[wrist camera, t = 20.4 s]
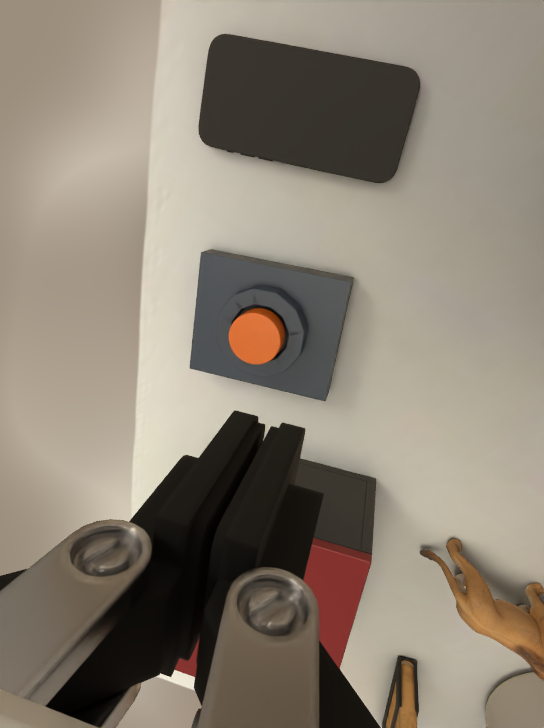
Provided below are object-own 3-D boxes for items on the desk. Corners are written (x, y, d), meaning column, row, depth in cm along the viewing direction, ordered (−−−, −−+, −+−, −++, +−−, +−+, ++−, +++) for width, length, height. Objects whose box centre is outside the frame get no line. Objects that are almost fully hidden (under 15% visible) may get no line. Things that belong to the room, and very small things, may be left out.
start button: (289, 313, 36) (284, 319, 34) (280, 362, 37) (275, 370, 36) (238, 302, 37) (231, 307, 35) (232, 351, 38) (225, 358, 36)
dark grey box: (338, 613, 49) (326, 707, 40) (213, 573, 51) (175, 654, 42) (376, 478, 43) (372, 553, 34) (232, 440, 45) (193, 501, 36)
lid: (324, 713, 40) (313, 797, 34) (175, 660, 42) (141, 731, 37) (372, 554, 34) (367, 625, 28) (192, 502, 36) (156, 558, 30)
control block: (353, 277, 37) (349, 286, 34) (328, 391, 41) (322, 410, 37) (210, 249, 39) (192, 254, 36) (198, 360, 43) (180, 375, 39)
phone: (392, 187, 34) (195, 144, 36) (392, 187, 35) (199, 145, 37) (425, 69, 31) (210, 29, 33) (424, 71, 32) (214, 33, 34)
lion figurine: (593, 592, 41) (644, 691, 33) (561, 632, 43) (601, 735, 35) (431, 526, 43) (440, 604, 35) (407, 568, 45) (411, 651, 37)
